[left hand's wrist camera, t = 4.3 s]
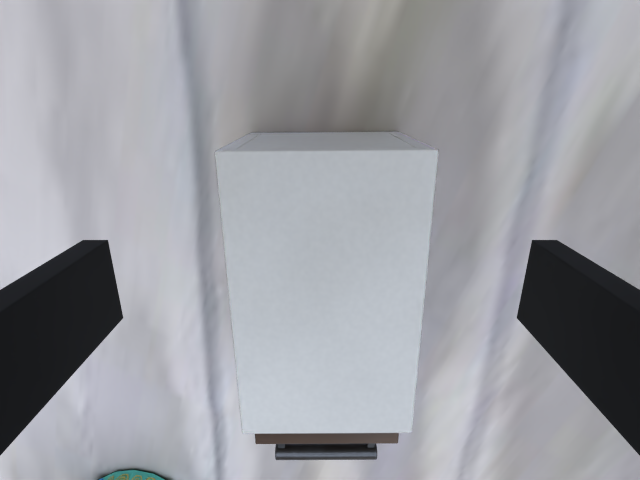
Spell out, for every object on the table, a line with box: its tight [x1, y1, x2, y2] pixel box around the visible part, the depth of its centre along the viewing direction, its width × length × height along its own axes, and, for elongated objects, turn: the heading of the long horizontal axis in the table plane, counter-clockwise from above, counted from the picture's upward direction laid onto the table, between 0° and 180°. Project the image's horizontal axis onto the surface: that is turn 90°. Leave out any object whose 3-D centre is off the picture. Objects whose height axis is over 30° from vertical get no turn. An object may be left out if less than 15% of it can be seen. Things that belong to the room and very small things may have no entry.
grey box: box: [215, 132, 439, 434], centre depth 27 cm, size 18×11×10 cm, turn 0°
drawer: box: [255, 433, 399, 460], centre depth 28 cm, size 22×10×8 cm, turn 0°
